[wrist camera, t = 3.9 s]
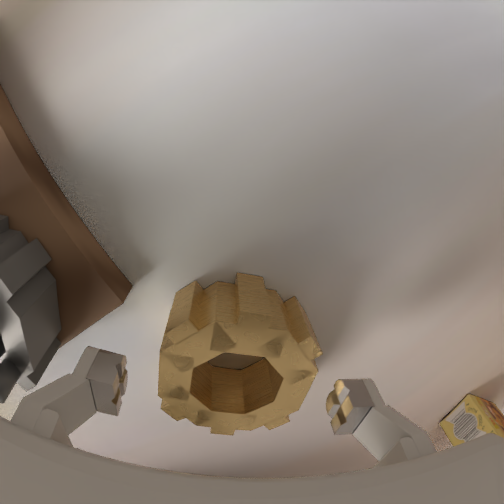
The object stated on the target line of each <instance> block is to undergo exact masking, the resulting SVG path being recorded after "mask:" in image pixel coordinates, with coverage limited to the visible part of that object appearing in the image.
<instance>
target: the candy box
mask: <svg viewBox="0 0 504 504" xmlns="http://www.w3.org/2000/svg"><path fill="white" fill-rule="evenodd" d="M440 425H441V427H442V429H443V430H444V432H445V433H446V435H447V437H448V438H449V440H450V442H451V443H452V445H453V447H454V446H457V445H459V444H462V443H465V442H467V441H470V440H473V439H475V438H478V437H480V436H482V435H485V434H487V433H494V434H496V435H498V436H500V437H502V438H504V415H503V414H502V413H501V411H500V410H499V409H498V407H497V406H496V405H495V404H494V403H492V402H490V401H487V400H485V399H482V398H479V397H476V396H474V395H471V394H468V395H467V396H466V397H465V398H464V399H463V400H462V401H461V402H460V403H459V404H458V405H457V407H456V408H455V409H454V410H453V411H452V412H451V413H450V414H448V415H447V416H446V417H445V418H444V419H443V420H442V421H441V422H440Z"/></svg>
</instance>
